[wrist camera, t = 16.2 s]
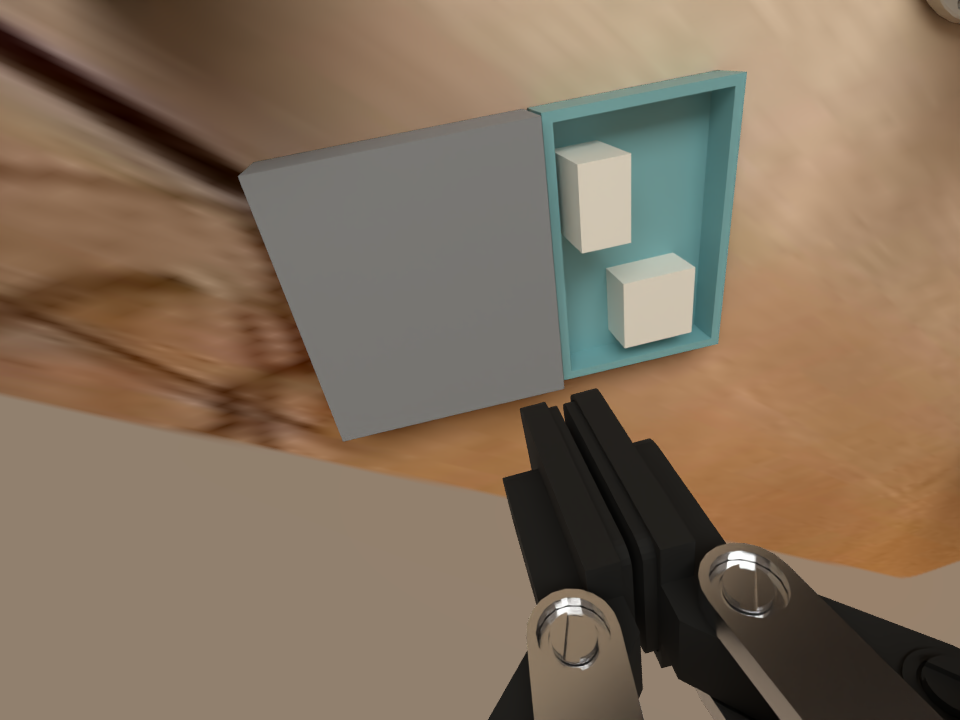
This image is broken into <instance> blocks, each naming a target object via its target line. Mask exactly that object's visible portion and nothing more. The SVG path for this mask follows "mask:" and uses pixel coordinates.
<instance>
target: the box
mask: <svg viewBox="0 0 960 720" xmlns="http://www.w3.org/2000/svg"><path fill="white" fill-rule="evenodd" d="M746 75H747V72H739V71H720V70H716V71H711V72H706V73H701V74H696V75H691V76H686V77H681V78H676V79H671V80H666V81H661V82H655V83H650V84H645V85H640V86H635V87H630V88H625V89H620V90H615V91H610V92H605V93H600V94H595V95H590V96H585V97H580V98H575V99H570V100H565V101H560V102H555V103H550V104H545V105H540V106H535V107H530V108H527V109H528V111H529V112H532V113H535V114H537V115H540V116H541V121H542V133H543V144H544V156H545V168H546V180H547V191H548V203H549V215H550V226H551V238H552V250H553V262H554V273H555V285H556V297H557V308H558V320H559V332H560V343H561V355H562V367H563V379H564V380H567V379H571V378H576V377H580V376H584V375H588V374H593V373H597V372H601V371H605V370H609V369H614V368H618V367H622V366H626V365H631V364H635V363H639V362H643V361H647V360H652V359H656V358H660V357H664V356H668V355H673V354H677V353H681V352H685V351H690V350H694V349H698V348H702V347H706V346H711V345H715V344H718V339H719V330H720V320H721V311H722V301H723V292H724V283H725V273H726V264H727V254H728V245H729V235H730V226H731V217H732V207H733V198H734V188H735V179H736V170H737V160H738V151H739V141H740V132H741V122H742V113H743V104H744V94H745V85H746ZM595 140H598V141H600V142H603V143H606V144H608V145H611V146H613V147H616V148H618V149H621V150H624V151H626V152H629V153H631V243H628V244H623V245H619V246H614V247H609V248H605V249H600V250H596V251H591V252H587V253H581V252H580V251H579V250H578V249H577V248H576V247H575V246H574V245H573V244H572V243H571V242H570V241H569V240H567V239H566V238H565V237H564V236H563V235H562V234H561V226H560V213H559V200H558V186H557V173H556V160H555V149H556V148H560V147H565V146H570V145H575V144H580V143H585V142H590V141H595ZM669 253H675V254H676V255H678V256H679V257H681V258H682V259H684V260H685V261H687V262H688V263H690V264H691V265H693V266H694V267H695V281H694V298H693V314H692V330H691V332H690V333H686V334H682V335H678V336H674V337H669V338H665V339H661V340H657V341H653V342H649V343H645V344H641V345H637V346H633V347H628V348H624V347H623V346H622V345H621V343H620V342H619V341H618V340H617V339H616V338H615V336H614V335H613V334H612V333H611V332H610V331H609V329H608V307H607V281H606V268H609V267H613V266H617V265H621V264H626V263H630V262H634V261H639V260H643V259H647V258H652V257H656V256H660V255H664V254H669Z"/></svg>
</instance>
